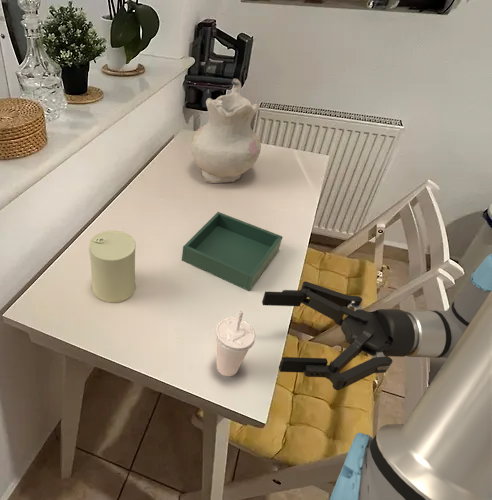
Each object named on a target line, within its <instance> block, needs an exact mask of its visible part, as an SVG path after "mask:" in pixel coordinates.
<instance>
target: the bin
mask: <svg viewBox="0 0 492 500" xmlns="http://www.w3.org/2000/svg"><path fill="white" fill-rule="evenodd" d="M282 240H283V236H282V235H279V234H278V233H275V232H272V231H269V230H267V229H264V228H262V227H260V226H256V225H253V224H251V223H248V222H246V221H244V220H240V219H239V218H236V217H233V216H230V215H228V214H226V213H222V212H220V211H217V212H215V214H214V215H213V216H212V217H211V218H210V219H209V220H208V221H207V222H206V223H205V224H204V225H202V227H201V228H200V229H199V230H198V231H197V232H196V233H195V234H194V235H193V236H192V237H191V238H190V239H189V240H187V242H186V243H185V244H184V245H183V246H182V253H181V261H182V262H185V263H186V264H189V265H191V266H194V267H196V268H198V269H200V270H201V271H204V272H206V273H209V274H211V275H212V276H215V277H218V278H220V279H222V280H223V281H226V282H228V283H231V284H233V285H235V286H237V287H239V288H241V289H244V290H245V291H248V292H250V290H251V289H252V288H253V287H254V285H255V284H256V282H258V280H259V278H260V277H261V276H262V274H263V273H264V272H265V270H266V269H267V267H268V266H269V264H270V263H271V262H272V260H273V259H274V257H276V255H277V254H278V252H279V250H280V247H281V244H282Z"/></svg>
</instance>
